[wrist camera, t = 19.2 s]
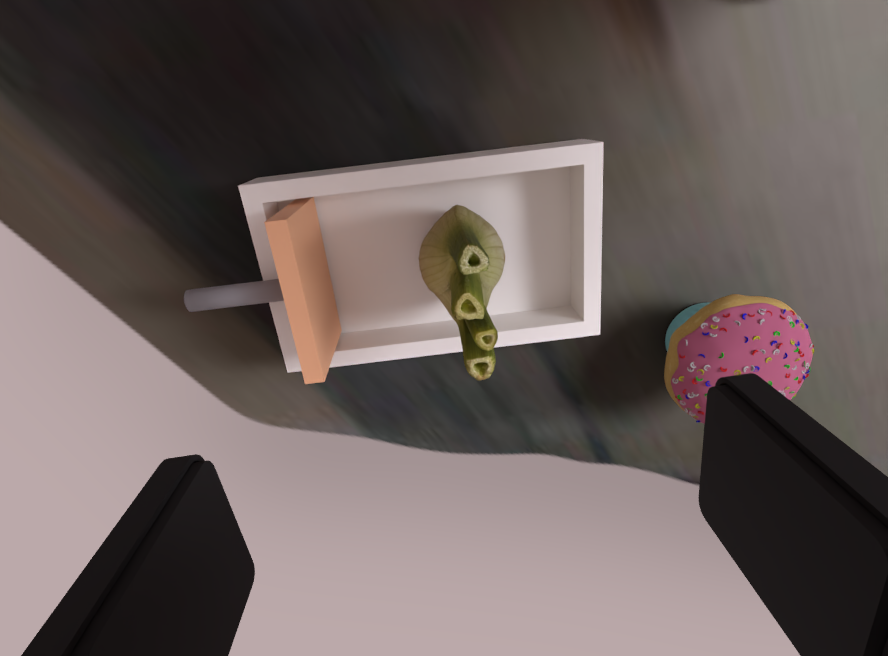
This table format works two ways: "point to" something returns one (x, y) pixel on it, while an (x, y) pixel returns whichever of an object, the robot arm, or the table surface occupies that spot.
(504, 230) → the white tray
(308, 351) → the pusher
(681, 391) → the cupcake
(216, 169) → the table surface
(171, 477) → the robot arm
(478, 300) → the fennel bulb
